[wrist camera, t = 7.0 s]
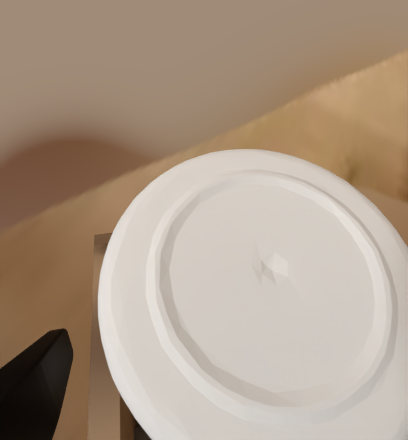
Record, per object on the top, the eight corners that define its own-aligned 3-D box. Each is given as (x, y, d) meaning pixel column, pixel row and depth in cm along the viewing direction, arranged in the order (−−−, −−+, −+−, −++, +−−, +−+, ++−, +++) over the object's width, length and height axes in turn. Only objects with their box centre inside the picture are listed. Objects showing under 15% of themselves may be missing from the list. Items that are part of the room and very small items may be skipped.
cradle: (308, 405, 14) (351, 425, 10) (114, 452, 12) (85, 494, 9) (259, 239, 18) (277, 213, 15) (113, 259, 17) (94, 235, 13)
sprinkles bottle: (163, 378, 14) (32, 553, 2) (167, 294, 16) (114, 131, 4) (244, 375, 14) (557, 507, 2) (236, 293, 16) (378, 140, 4)
